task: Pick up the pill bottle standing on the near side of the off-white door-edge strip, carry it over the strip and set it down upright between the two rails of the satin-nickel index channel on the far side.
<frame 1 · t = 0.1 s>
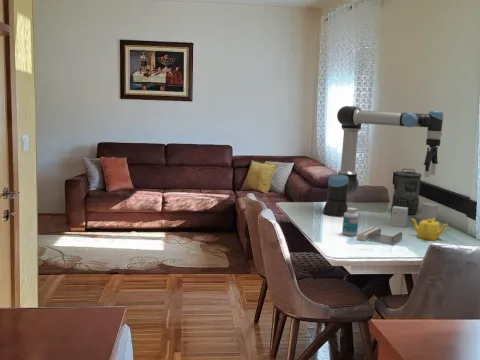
hand: (429, 176, 306), 28 cm above the table, fingers open, 13 cm apart
teapot: (427, 238, 277), on the table
index channel: (385, 240, 267), on the table
door edge: (368, 236, 271), on the table
small box: (398, 226, 302), on the table
pill bottle: (349, 234, 274), on the table
cup: (427, 225, 309), on the table
canister: (404, 212, 343), on the table
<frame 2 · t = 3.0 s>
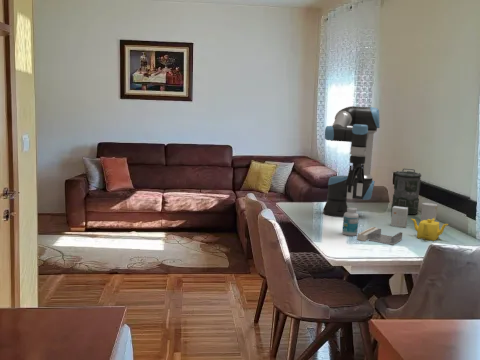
hand: (354, 197, 272), 19 cm above the table, fingers open, 13 cm apart
nothing on the table moved.
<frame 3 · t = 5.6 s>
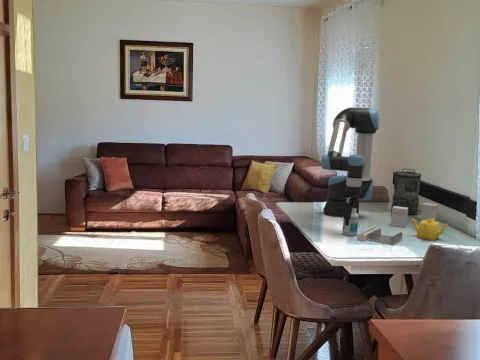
hand: (349, 230, 274), 2 cm above the table, fingers closed on pill bottle, 7 cm apart
pill bottle: (349, 234, 274), on the table, touching gripper
everything else where it was.
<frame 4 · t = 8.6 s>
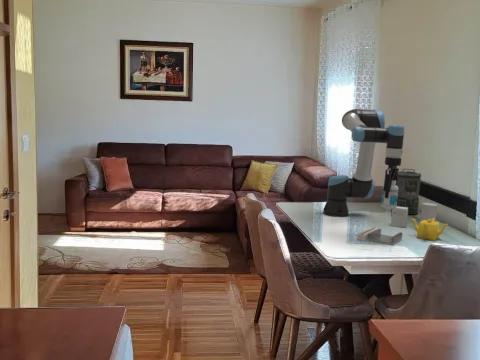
hand: (389, 203, 264), 18 cm above the table, fingers closed on pill bottle, 7 cm apart
pill bottle: (388, 208, 264), point 16 cm above the table, touching gripper
everything else where it was.
when the fingers open (5 cm above the table, at t = 11.8 s): pill bottle drops 2 cm, resting on index channel.
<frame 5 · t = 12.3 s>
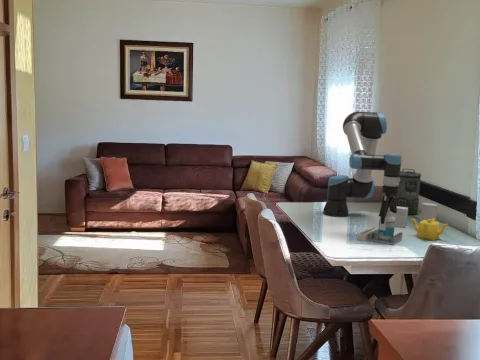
hand: (386, 227, 266), 6 cm above the table, fingers open, 13 cm apart
pill bottle: (385, 238, 266), point 1 cm above the table, touching index channel
everything else where it was.
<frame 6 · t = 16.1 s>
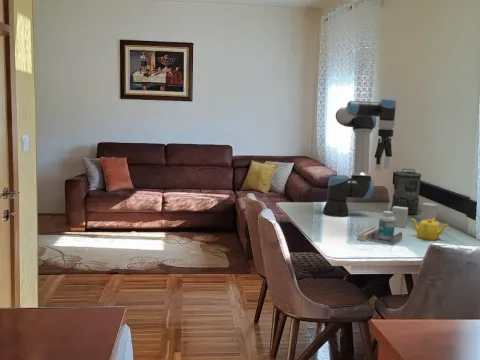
hand: (382, 169, 281), 33 cm above the table, fingers open, 13 cm apart
nothing on the table moved.
at the end: pill bottle inside the target area on the index channel (0.3 cm from its centre), point 0.6 cm above the index channel's base; pill bottle tilted 0°; the gripper is holding nothing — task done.
